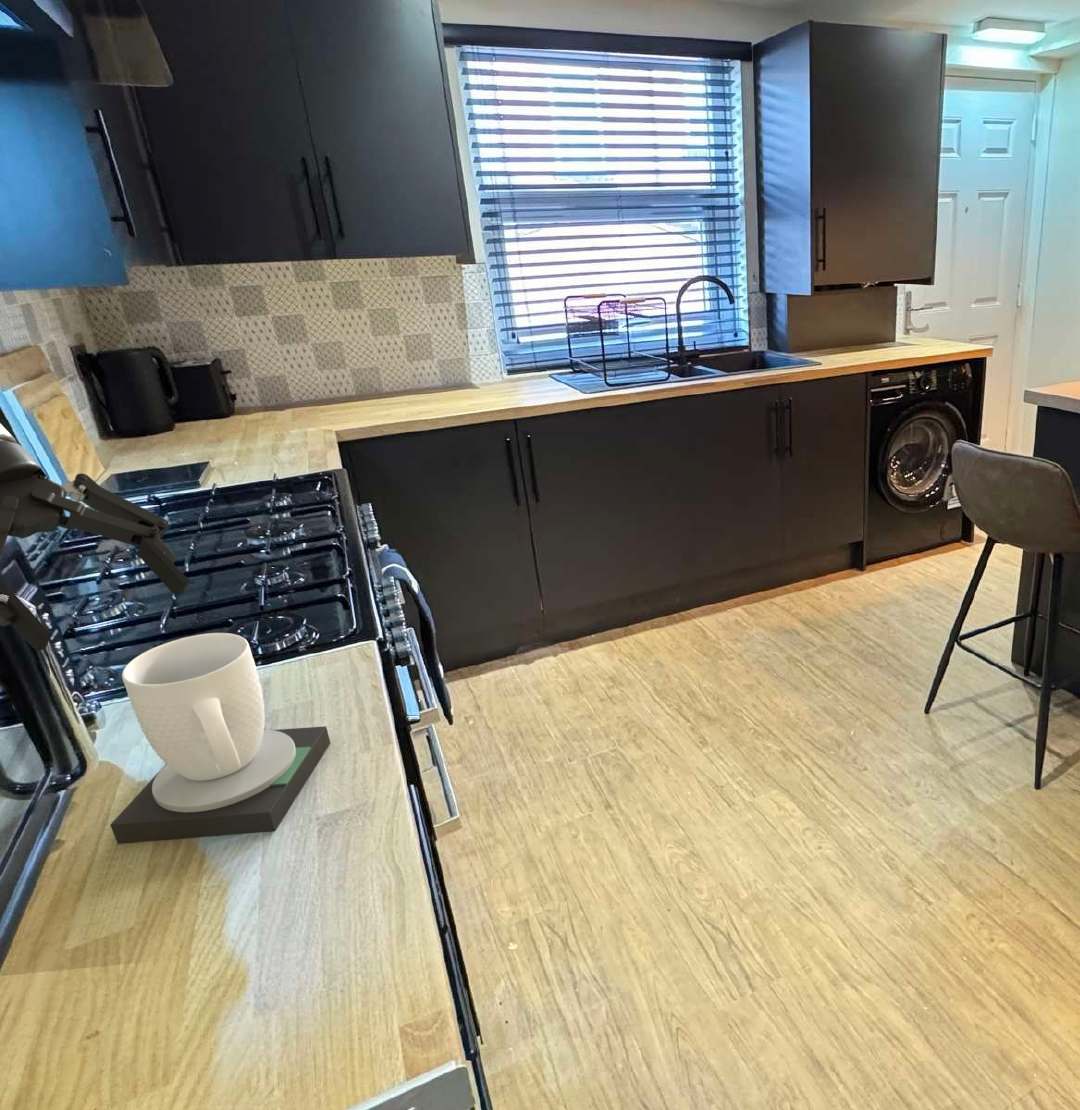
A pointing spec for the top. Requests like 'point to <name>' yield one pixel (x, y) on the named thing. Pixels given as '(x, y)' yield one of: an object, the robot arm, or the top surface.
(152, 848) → the top surface
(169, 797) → the scale
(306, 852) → the top surface
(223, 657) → the mug
